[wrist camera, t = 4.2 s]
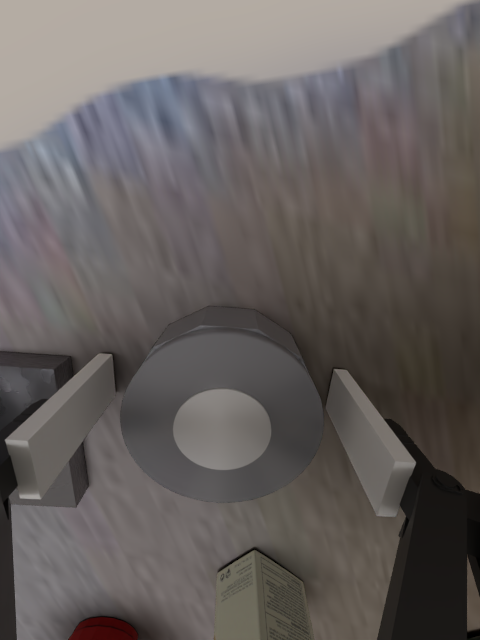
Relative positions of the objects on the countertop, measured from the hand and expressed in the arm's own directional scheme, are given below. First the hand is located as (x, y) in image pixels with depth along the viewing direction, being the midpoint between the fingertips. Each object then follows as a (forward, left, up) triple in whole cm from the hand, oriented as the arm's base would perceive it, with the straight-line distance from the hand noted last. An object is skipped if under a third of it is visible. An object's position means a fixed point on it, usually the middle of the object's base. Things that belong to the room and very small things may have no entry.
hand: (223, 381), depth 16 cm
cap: (0, 0, 0) cm, 0 cm away
